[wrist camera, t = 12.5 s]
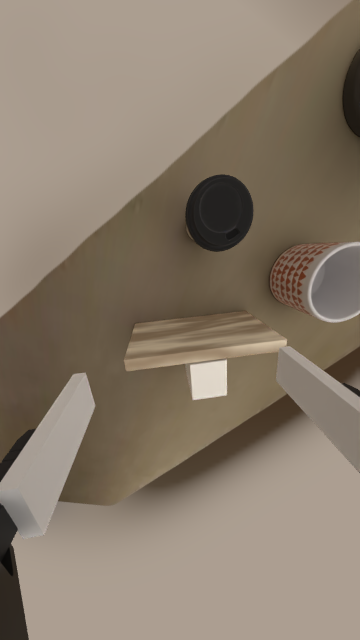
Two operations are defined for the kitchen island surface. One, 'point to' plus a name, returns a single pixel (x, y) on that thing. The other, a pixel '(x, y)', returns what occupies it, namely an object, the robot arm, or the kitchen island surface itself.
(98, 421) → the kitchen island surface
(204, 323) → the wooden board
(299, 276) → the planter
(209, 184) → the coffee cup
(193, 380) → the cabinet
